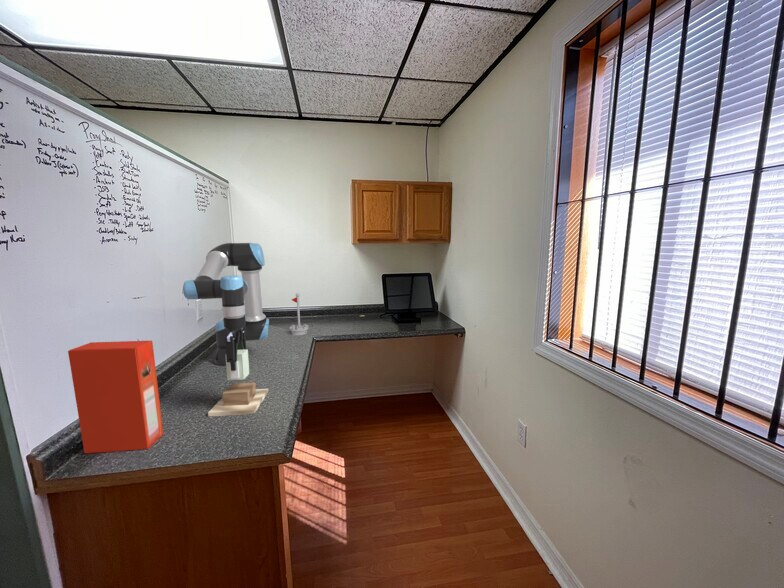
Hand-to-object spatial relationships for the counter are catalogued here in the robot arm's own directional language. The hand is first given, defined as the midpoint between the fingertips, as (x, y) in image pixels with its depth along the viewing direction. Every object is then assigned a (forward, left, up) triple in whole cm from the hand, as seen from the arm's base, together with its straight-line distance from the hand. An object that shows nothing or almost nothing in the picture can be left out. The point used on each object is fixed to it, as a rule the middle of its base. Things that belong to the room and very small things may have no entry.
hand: (238, 374), depth 119 cm
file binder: (+23, -26, -12) cm, 37 cm away
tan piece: (0, 0, -12) cm, 12 cm away
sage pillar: (0, 0, -1) cm, 1 cm away
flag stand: (-106, +3, -12) cm, 107 cm away
